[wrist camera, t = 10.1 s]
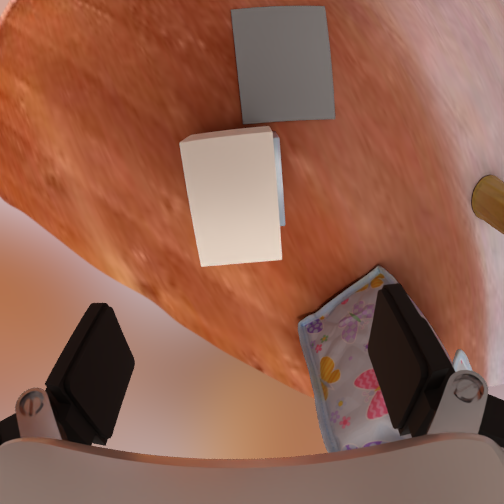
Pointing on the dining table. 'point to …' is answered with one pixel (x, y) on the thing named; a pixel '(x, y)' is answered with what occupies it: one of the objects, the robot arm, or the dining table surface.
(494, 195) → the vase
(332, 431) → the lunch bag
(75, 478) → the robot arm
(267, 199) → the lid
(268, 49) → the mat
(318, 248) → the dining table surface
